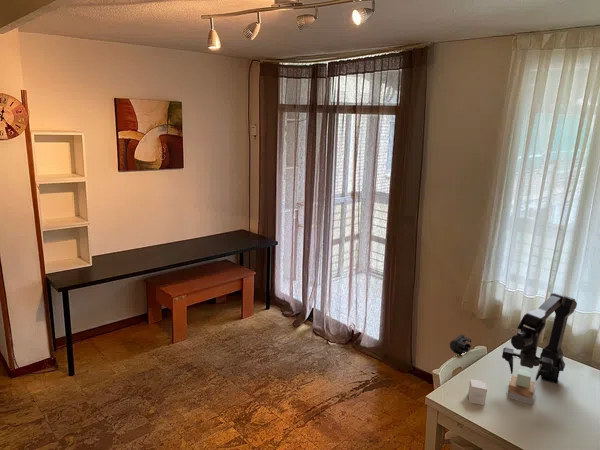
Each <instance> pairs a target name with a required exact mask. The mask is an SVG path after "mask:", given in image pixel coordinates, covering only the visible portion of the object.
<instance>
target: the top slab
mask: <svg viewBox="0 0 600 450" xmlns="http://www.w3.org/2000/svg"><path fill="white" fill-rule="evenodd" d="M509 381H510V384H509V383H508V387H509V389H508V388H507V392H508V391H509V392H512V393H515V394H518V395H521V396H524V397H527V398H530V399H532V395H533V390H534V387H535V385H536V381H532V380H530V386H529V388H526V387H523V386H519V385H516V381H517V375H516V376H515V375H513V374H511V377H510V380H509Z"/></svg>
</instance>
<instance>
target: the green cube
mask: <svg viewBox="0 0 600 450" xmlns="http://www.w3.org/2000/svg"><path fill="white" fill-rule="evenodd" d="M516 377H517V381H516V385H519V386H523V387H526V388H529V386H530V381H532V371H529V370H525V369H522V368H518V370H517V375H516Z"/></svg>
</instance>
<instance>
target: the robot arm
mask: <svg viewBox="0 0 600 450" xmlns="http://www.w3.org/2000/svg"><path fill="white" fill-rule="evenodd" d="M577 305H578V303H577V301H576V299H575V298H573V297H571V296H570V297H569V296H566V295H564V294H562V293H561V294H560V293H557V292H552V293H550V296H549V297H548V298H547V299H546V300H545V301H544V302H543V303H542V304H541V305H539V307H538V308H537V309H530V310H529V311H528V312H526V313H525V314H524V315H523V316H522V319H521V321H520V323H519V324H518V326H517V329H518V330H519V331H518V332H517V333H516V334H515V335H513V336H512V337H511V339H510V343H511V345H512V347H513V348H509V347H506V346H505V347H504V348H503V350H502V355H501V359H504V360H505V361H506V362H507V363H508V365H509V369H510V374H511V375H513V372H514V358H515V359H518V360H520V362H519V364H520V366H521V367H525V368H528V369H534V367H538V369H537V373H536V376H535V382H536V381H538V379H539V378H540V376H541V380H544V381H547V382H551V383H554V384H558V383H559V377H560V372H564V369H565V367H566V362H565V361H564V352H563V350H562V343H563V339H564V335H565V330H566V326H567V322H568V318H569V316H571V315H572V314H574V312H575V310H576V309H577V307H578V306H577ZM553 313H554V315H555V316H554V320H553V324H552V329H551V333H550V336H549V340H548V345H546V346H545V347H543V348H542V349H541V352H540V356H537V350H538V345H539V340H540V335H541V333H542V332H543V330H544V329H545V328H546V325H547V319H548V318H549V317H550V316H551V315H552V314H553ZM514 349H515V350H518V351H520V353H517V352H514Z"/></svg>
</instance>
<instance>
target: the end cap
mask: <svg viewBox="0 0 600 450" xmlns="http://www.w3.org/2000/svg"><path fill="white" fill-rule="evenodd" d="M472 340H473V339H471V338H469V337H466V336H465V334H460V335H458V336H457V337H455V338H454V339H453V340H451V341H450V342H449V348H450V350H451V351H452V352H453V354H456V355H459V356H461V355H460V354H462V353H465V352H467V353H468V352H470V350H471V348H472V344H471V343H472ZM467 342H468V343H467Z"/></svg>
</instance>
